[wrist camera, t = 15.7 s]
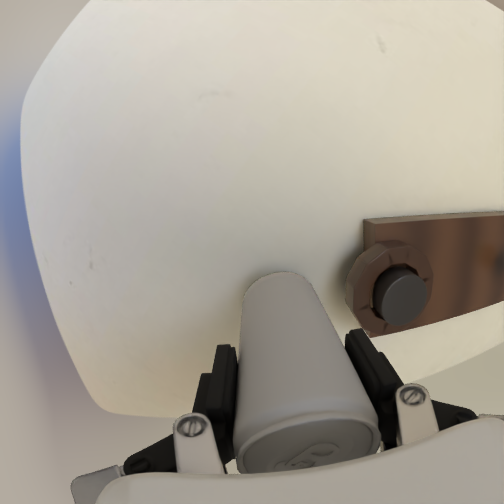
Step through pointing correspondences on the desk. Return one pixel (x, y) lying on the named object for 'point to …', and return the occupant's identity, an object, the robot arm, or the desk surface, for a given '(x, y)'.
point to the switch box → (431, 265)
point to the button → (399, 296)
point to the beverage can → (296, 384)
